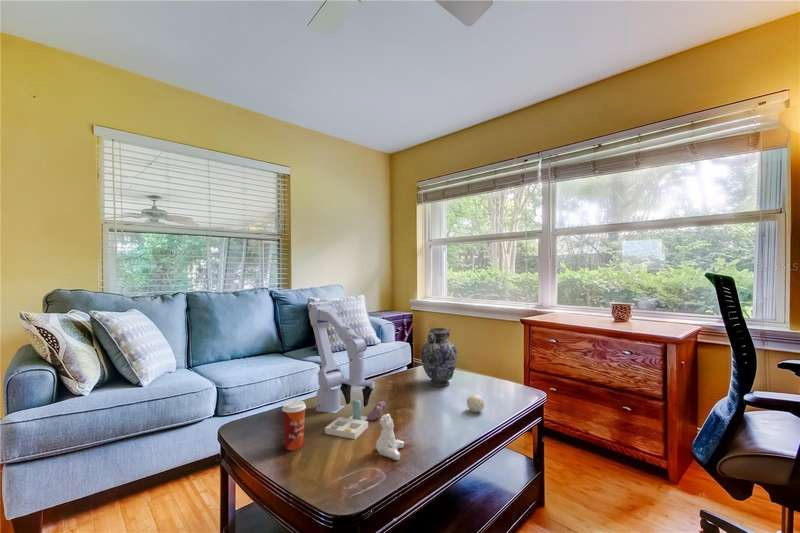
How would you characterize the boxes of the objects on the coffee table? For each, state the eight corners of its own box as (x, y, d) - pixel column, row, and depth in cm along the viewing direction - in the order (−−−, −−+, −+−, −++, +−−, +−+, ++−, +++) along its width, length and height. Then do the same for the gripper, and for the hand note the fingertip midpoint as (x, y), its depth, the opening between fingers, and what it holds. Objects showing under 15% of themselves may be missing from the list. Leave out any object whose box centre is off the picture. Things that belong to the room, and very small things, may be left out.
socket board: (325, 434, 124) (325, 426, 124) (339, 423, 133) (339, 416, 133) (355, 440, 120) (355, 432, 120) (368, 427, 129) (367, 420, 129)
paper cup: (293, 454, 111) (292, 410, 111) (277, 448, 115) (276, 405, 115) (311, 444, 117) (311, 402, 117) (295, 438, 121) (295, 397, 122)
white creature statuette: (399, 461, 106) (399, 421, 106) (372, 459, 108) (371, 419, 108) (404, 446, 115) (404, 409, 116) (379, 444, 117) (379, 408, 117)
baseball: (471, 416, 139) (471, 399, 139) (464, 409, 146) (464, 392, 146) (487, 414, 140) (487, 397, 140) (479, 407, 148) (479, 391, 148)
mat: (344, 422, 134) (344, 421, 134) (353, 415, 140) (353, 414, 140) (360, 425, 131) (360, 424, 131) (368, 418, 138) (368, 417, 138)
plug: (351, 420, 135) (351, 402, 135) (355, 417, 138) (355, 399, 138) (358, 421, 134) (358, 403, 134) (362, 418, 137) (362, 400, 137)
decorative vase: (447, 392, 165) (445, 333, 166) (413, 386, 175) (412, 330, 176) (464, 381, 183) (463, 327, 184) (433, 376, 193) (432, 325, 194)
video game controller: (376, 426, 134) (383, 410, 134) (365, 420, 135) (373, 404, 134) (382, 415, 144) (389, 401, 143) (372, 410, 145) (380, 395, 144)
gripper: (334, 370, 135) (335, 406, 135) (368, 373, 130) (369, 410, 129) (344, 365, 141) (344, 399, 141) (376, 368, 136) (377, 404, 136)
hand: (356, 404), depth 136 cm, fingers open, 7 cm apart
